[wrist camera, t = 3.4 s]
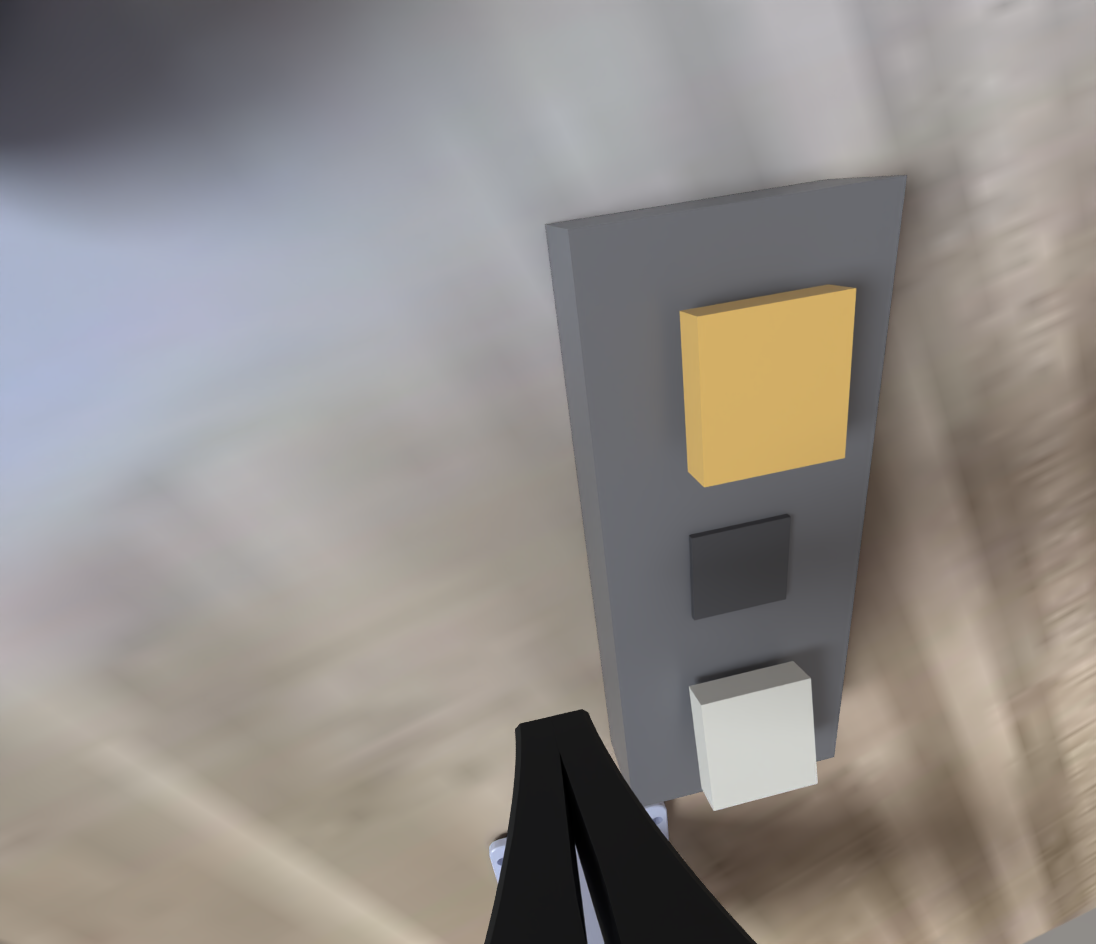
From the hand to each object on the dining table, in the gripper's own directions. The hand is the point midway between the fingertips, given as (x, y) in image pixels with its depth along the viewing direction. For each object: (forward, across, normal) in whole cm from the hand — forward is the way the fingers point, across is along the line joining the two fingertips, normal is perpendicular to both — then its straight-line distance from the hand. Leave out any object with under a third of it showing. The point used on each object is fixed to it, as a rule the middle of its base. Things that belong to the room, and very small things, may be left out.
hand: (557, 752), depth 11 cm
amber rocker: (+5, -6, -5) cm, 9 cm away
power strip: (+9, -7, +2) cm, 11 cm away
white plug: (+5, -7, +7) cm, 11 cm away
